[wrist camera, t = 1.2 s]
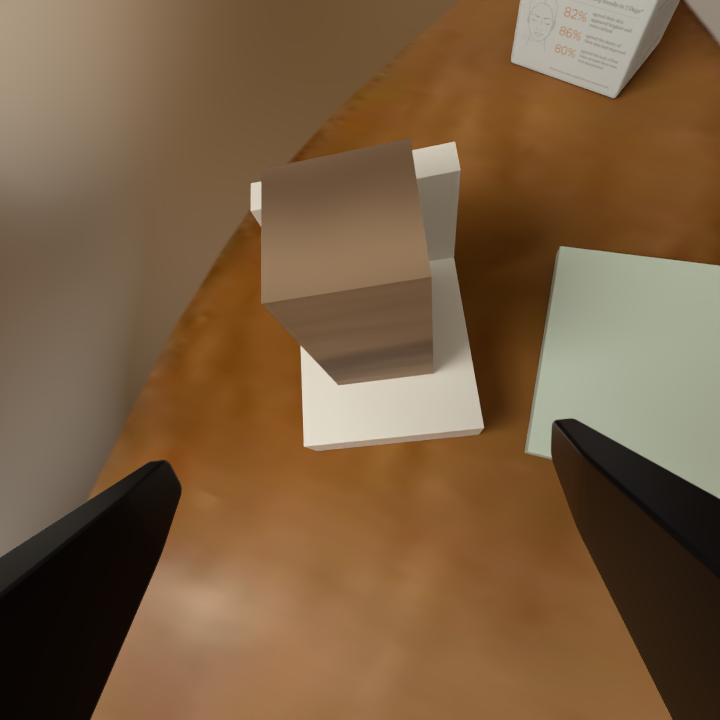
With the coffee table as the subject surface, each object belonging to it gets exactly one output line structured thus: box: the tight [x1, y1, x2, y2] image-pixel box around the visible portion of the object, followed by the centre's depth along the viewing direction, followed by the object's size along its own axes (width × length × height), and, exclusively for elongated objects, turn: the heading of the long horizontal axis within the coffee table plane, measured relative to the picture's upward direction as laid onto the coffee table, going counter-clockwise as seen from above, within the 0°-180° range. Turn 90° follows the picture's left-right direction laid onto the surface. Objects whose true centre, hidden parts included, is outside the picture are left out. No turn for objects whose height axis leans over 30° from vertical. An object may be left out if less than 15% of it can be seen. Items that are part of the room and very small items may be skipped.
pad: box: [524, 246, 720, 499], centre depth 21 cm, size 12×10×1 cm
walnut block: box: [261, 138, 434, 385], centre depth 17 cm, size 5×5×10 cm
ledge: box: [251, 142, 484, 451], centre depth 20 cm, size 11×9×9 cm
